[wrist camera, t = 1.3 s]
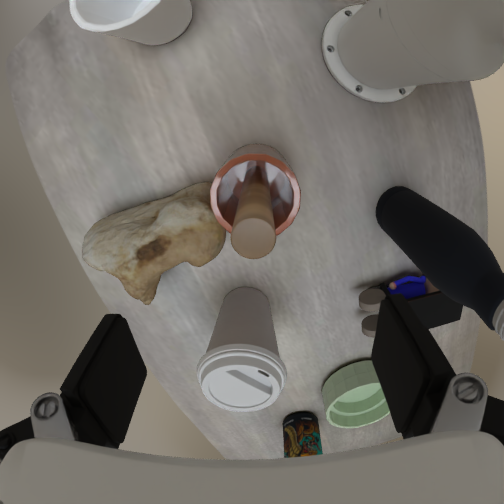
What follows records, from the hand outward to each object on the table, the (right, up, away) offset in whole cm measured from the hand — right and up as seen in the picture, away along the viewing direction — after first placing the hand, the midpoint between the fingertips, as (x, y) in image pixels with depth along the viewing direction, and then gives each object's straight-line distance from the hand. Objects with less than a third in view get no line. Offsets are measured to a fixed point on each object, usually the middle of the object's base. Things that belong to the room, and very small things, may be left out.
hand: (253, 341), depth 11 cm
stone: (-11, +5, +28) cm, 30 cm away
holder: (0, +12, +24) cm, 27 cm away
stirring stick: (0, +11, +23) cm, 26 cm away
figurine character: (+22, -2, +30) cm, 37 cm away
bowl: (+19, -20, +39) cm, 48 cm away
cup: (-10, +30, +16) cm, 36 cm away
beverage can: (+10, -30, +44) cm, 54 cm away
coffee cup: (-1, -4, +32) cm, 32 cm away
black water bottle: (+19, +8, +25) cm, 32 cm away
